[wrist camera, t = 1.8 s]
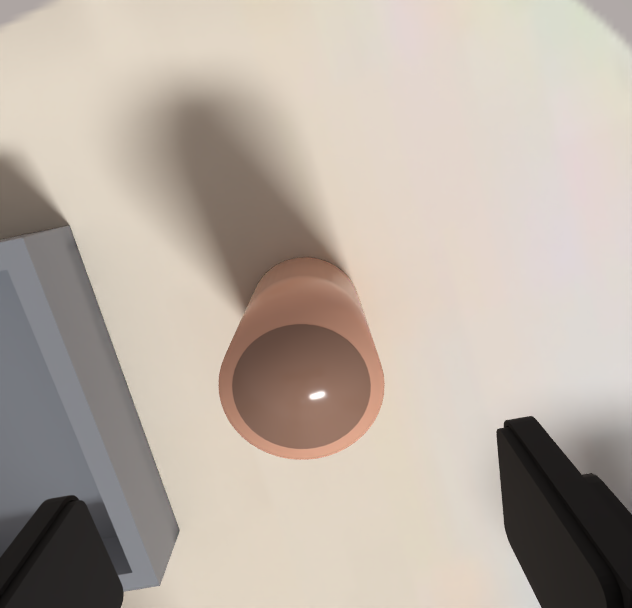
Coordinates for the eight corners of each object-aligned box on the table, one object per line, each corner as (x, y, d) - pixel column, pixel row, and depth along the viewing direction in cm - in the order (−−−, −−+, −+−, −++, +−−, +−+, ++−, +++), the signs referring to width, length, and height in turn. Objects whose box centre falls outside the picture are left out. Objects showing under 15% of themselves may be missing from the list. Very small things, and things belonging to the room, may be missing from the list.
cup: (368, 350, 26) (395, 445, 17) (264, 369, 26) (241, 472, 18) (349, 247, 24) (370, 295, 16) (239, 269, 24) (198, 328, 16)
